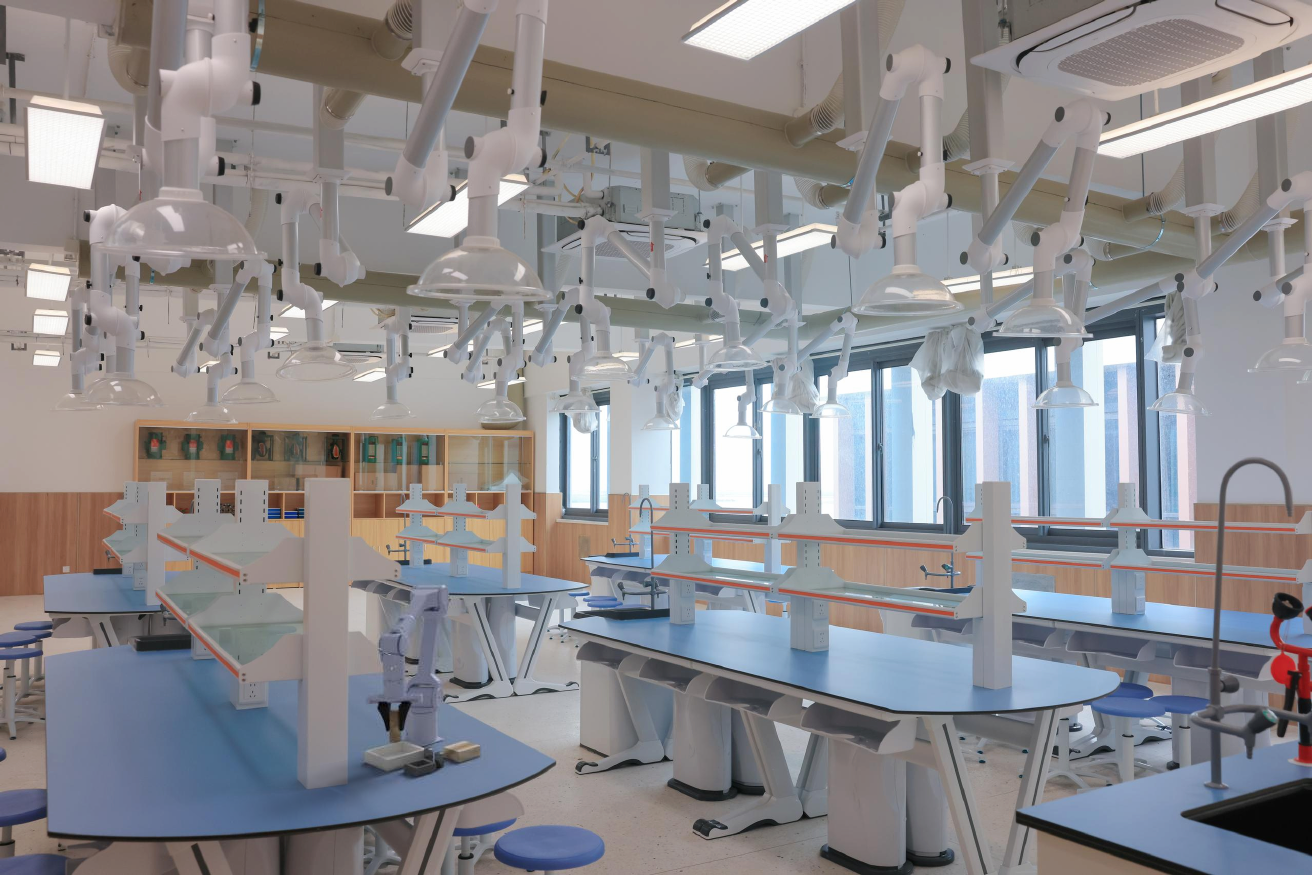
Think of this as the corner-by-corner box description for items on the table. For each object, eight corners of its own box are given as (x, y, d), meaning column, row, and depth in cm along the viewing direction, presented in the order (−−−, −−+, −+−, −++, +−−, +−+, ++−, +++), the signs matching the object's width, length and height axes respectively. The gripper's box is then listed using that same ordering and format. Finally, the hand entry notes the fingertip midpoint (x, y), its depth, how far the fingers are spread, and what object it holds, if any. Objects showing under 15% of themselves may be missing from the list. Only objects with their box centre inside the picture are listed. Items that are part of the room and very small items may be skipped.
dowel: (388, 742, 250) (387, 712, 250) (391, 739, 253) (390, 709, 253) (399, 742, 250) (399, 712, 250) (402, 739, 253) (401, 709, 253)
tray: (364, 762, 252) (364, 750, 252) (403, 751, 260) (403, 740, 260) (387, 771, 244) (387, 759, 244) (426, 760, 252) (426, 749, 252)
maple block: (443, 758, 255) (443, 747, 255) (464, 751, 260) (464, 740, 260) (459, 763, 250) (459, 751, 250) (480, 756, 255) (480, 745, 255)
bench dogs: (422, 762, 250) (422, 749, 250) (430, 760, 252) (429, 746, 252) (437, 768, 245) (437, 754, 245) (445, 765, 247) (445, 752, 247)
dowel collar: (404, 771, 243) (404, 763, 243) (424, 765, 248) (423, 758, 248) (416, 776, 239) (416, 768, 239) (436, 770, 243) (436, 762, 243)
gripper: (362, 683, 248) (363, 735, 248) (417, 681, 248) (419, 733, 248) (370, 676, 255) (371, 727, 255) (424, 675, 255) (425, 725, 255)
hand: (395, 730), depth 252 cm, fingers closed on dowel, 3 cm apart
